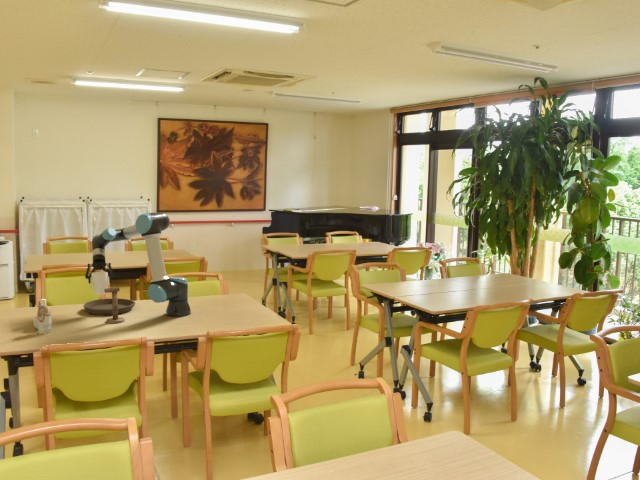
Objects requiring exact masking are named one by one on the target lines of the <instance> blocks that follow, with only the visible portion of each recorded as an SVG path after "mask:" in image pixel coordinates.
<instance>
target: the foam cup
mask: <svg viewBox="0 0 640 480" xmlns="http://www.w3.org/2000/svg"><path fill="white" fill-rule="evenodd" d="M108 272H109V271H108ZM108 272H104V271H103V270H99V271H95V272H93V273H91V272H90V273H91V275H92V287H93V292H94V295H98V296H100V295H102V296H103V295H106V294H107V293H105V292H104V289H107V286H108Z"/></svg>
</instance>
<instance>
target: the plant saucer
mask: <svg viewBox="0 0 640 480" xmlns="http://www.w3.org/2000/svg"><path fill="white" fill-rule="evenodd" d="M117 299H118V315H120V314H124V313H128V312H130V311H131V310H132V308H134V306H135V305H136V302H135V301H134V300H133V299H128V298H119V297H117ZM83 308H84V310H86V312H88V313H89V314H92V315H98V316H99V315H100V316H111V315H112V316H113V312H112V297H111V298H100V299H94V300H89V301H87V302H85V303H84V304H83Z"/></svg>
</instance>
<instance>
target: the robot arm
mask: <svg viewBox="0 0 640 480" xmlns="http://www.w3.org/2000/svg"><path fill="white" fill-rule="evenodd" d="M170 223H171V220H170V217H169V215H167V214H166V213H164V212H160V211H159V212H158V211H157V212H147V213H142V214H140V215H138V216H137V218H136V220H135V223H134V224H133V225H129V226H126V227H123V228H118V229H114V228H113V227H107V228H106V229H103V231H102V232H101V233H100V234H96V235H93V236H92V239H91V248H92V249H91V250H92V263H91V264H90V263H87V269H86V271H85V274H84V278H85V280H88V281H87V282H88V284H90V289H91V290H92V289H93V281H92V275H91V273H93V272H97V271H104V272H108V277H107V287H108V288H111V287H110V283H112V278H114V277H115V274H114V273H115V272H113V271H114V270H113V268H112V266H111V265H112V263H111V262H108V263H107V262H106V246H108V245H109V244H110V243H113V242H121V241H127V240H130V239H132V238H135V237H138V236H141V238H142V239H144V242H145V247H146V251H147V258H148V264H149V269H150V274H151V280H150V281H149V283H150V285H149V286H148V289H147V294H148V297H149V299H150V300H151V301H153V302H154V303H156V304H157V303H158V304H159V303H165V302H167V303H168V304H167V306H166V310H165V315H166V316H170V317H185V316H188V315H190V314H192V313H191V312H192V311H191V310H192V309H191V307H190V304H189V296H188V295H189V292H188V291H189V290H188V289H189V288H188V287H189V285H188V279H187V278H186V277H182V276H181V277H180V276H167V270H166V266H165V265H166V263H165V260H164V255H163V250H162V243H161V238H160V236H161V235H162V231H165V230H167V229H168V228H169V226H170ZM92 267H93V268H92ZM106 267H108V270H109V271H108V270H107V268H106ZM91 268H92V270H91ZM90 270H91V271H90Z"/></svg>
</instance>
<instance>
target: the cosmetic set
mask: <svg viewBox="0 0 640 480" xmlns="http://www.w3.org/2000/svg"><path fill="white" fill-rule="evenodd" d="M32 322H33V323H32V325H33V328H35V329H37V332H38V334H40V335H46V334H50V333H51V332H52V315H51V309H50V308H49V307H48V305H47V299H46V298H41V299H38V305H37V312H36V316H33V318H32Z"/></svg>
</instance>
